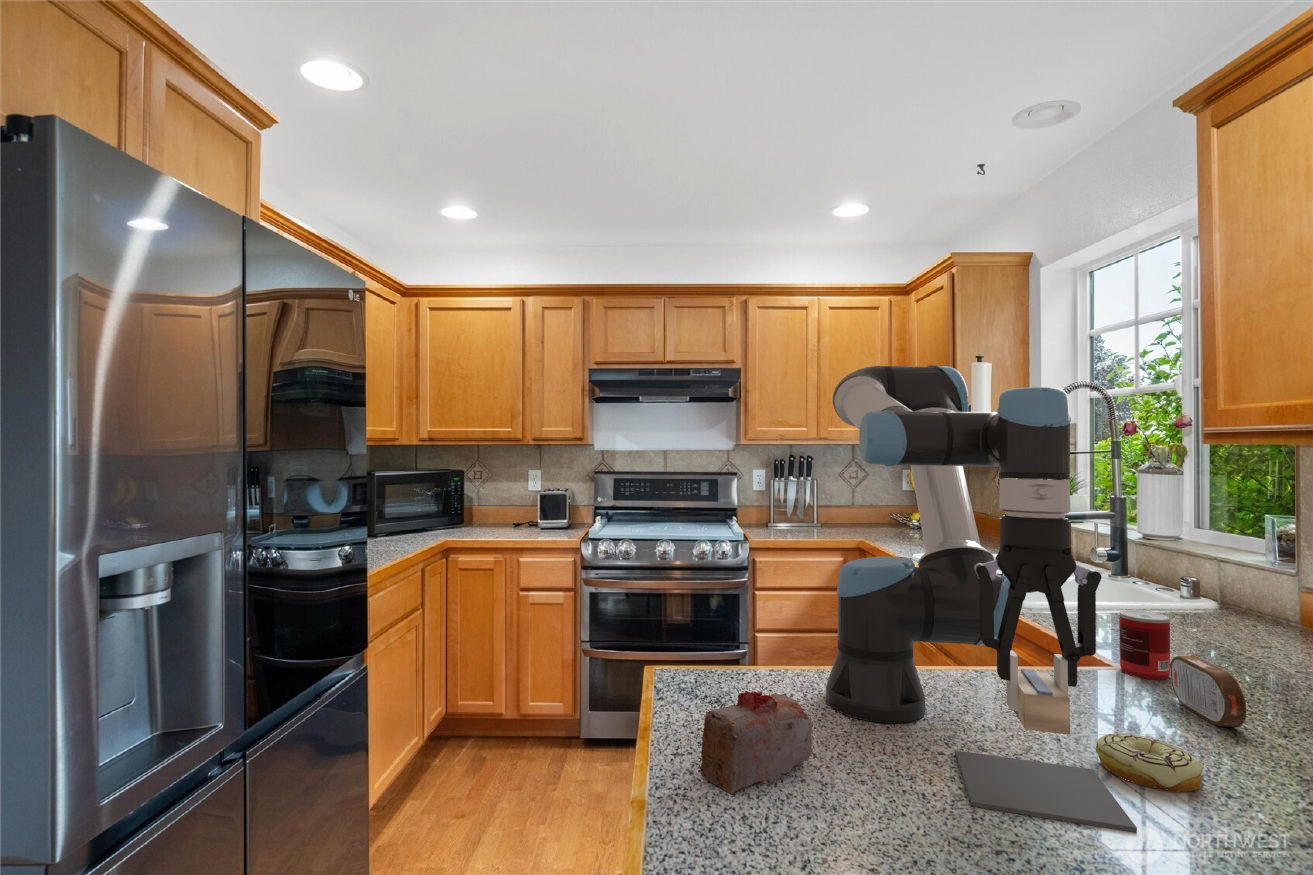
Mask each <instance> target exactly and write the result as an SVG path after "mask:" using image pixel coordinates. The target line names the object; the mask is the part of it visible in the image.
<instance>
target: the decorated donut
mask: <svg viewBox="0 0 1313 875" xmlns="http://www.w3.org/2000/svg"><path fill="white" fill-rule="evenodd" d="M1095 752H1096V754H1097V756H1098V758H1099V761H1100V763H1101V764H1102V765H1103V766H1104V767H1105V768H1106V770H1107V769H1108V770H1107V771H1109V770H1110V771H1109V772H1111V773H1112V774H1114V773H1115V775H1116V776H1118V777H1119V776H1120V777H1119V778H1121V777H1122V778H1124V779H1126V780H1129V781H1128V782H1131V781H1132V782H1131V783H1133V782H1134V783H1136V784H1135V785H1138V784H1140V785H1139V786H1145V787H1148V788H1152V789H1153V788H1155V789H1158V790H1163V791H1168V792H1172V793H1178V792H1181V793H1184V792H1185V793H1187V792H1190V791H1198V790H1199V789H1200V788H1201V785H1202V779H1203V778H1202V773H1203V771H1204V766H1203V765H1202V763H1201V762H1200V761H1199V760H1197V759H1196V758H1195V757H1194V756H1192V755H1191V754H1189V753H1188V752H1186V751H1184V750H1183V749H1182V748H1180V747H1178V746H1174V745H1172V744H1169V743H1166V742H1164V741H1160V740H1159V739H1155V738H1152V737H1147V736H1144V735H1137V734H1132V733H1124V732H1123V733H1122V732H1120V733H1118V732H1115V733H1107V734H1104V735H1103V736H1101V737H1099V738H1097V740H1096V745H1095ZM1124 779H1123V780H1124ZM1126 780H1125V781H1126ZM1134 783H1133V784H1134Z"/></svg>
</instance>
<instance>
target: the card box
mask: <svg viewBox="0 0 1313 875" xmlns="http://www.w3.org/2000/svg"><path fill="white" fill-rule="evenodd" d="M1070 702H1071V701H1070V697H1069V695H1068V696H1067V695H1066V694H1065V693H1064V692H1063V690H1062V689H1061V688H1060V687H1059V686H1058V685H1057V684H1056V683H1055V682H1054V678H1052V677H1051V676H1050V675H1049V673H1048V672H1046V671H1035V670H1034V669H1031V668H1030V669H1028V668H1020V669H1018V711H1013V712H1014V714H1015V715H1016V717H1017V719H1018V720H1019V722H1020V723H1021V726H1022V727H1023V729H1024V730H1026V731H1034V732H1044V733H1052V734H1059V735H1060V734H1061V735H1067V736H1068V735H1070V736H1071V707H1070V706H1071V703H1070Z"/></svg>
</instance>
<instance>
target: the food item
mask: <svg viewBox="0 0 1313 875" xmlns="http://www.w3.org/2000/svg"><path fill="white" fill-rule="evenodd" d="M703 721H704V722H703V730H702V731H703V732H702V744H701V753H700V756H701V765H700V767H699V772H700V775H701V776H702V777H703V778H704V779H705V780H706V781H707V782H709V783H711V784H713V785H715V786H717V787H719V788H721V789H723V791H724V792H726V793H728V794H729V795H732V794H735V793H736V792H738V791H740V790H741V789H743V788H748V787H749V786H751V785H754V784H756V783H759V782H762V783H764V784H768V785H771V784H774V783H776V781H778V780H780V779H781V777H782V775H786V774H788V773H789V772H791V770H793V769H797V768H801V767H802V766H803V764H804V762H809V759H810V758H811V756H812V753H813V751H814V750H813V747H812V746H813V735H812V734H813V726H814V722H813V721H812V719H811V718H810V716H809V715H808V714H807V713H805V712H804V709H803V707H802V706H801V704H799V703H798V702H797V701H796V700H795V699H793V698H792V697H790V696H788V695H784V694H779V693H775V692H774V693H771V694H770V695H768V694H763V691H760V692H758V691H755V690H753V691H751V692H749V691H748V690H745V691H744V692H742V693H738V696H737V703H736V704H732V705H729V706H723V707H720V708H716V709H711V710H709V711H706V712H705V716H704V720H703Z"/></svg>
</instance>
